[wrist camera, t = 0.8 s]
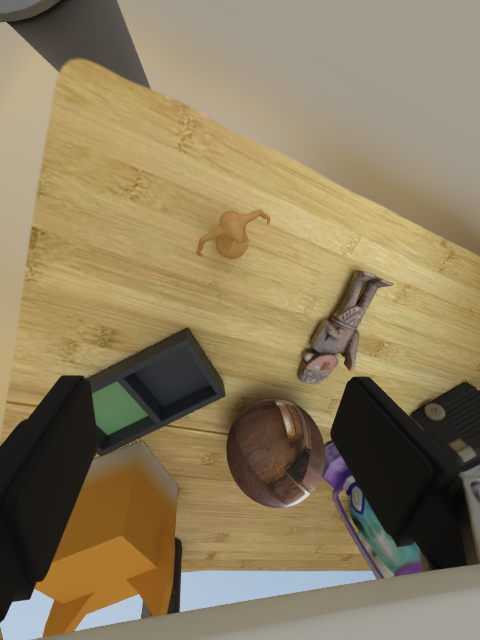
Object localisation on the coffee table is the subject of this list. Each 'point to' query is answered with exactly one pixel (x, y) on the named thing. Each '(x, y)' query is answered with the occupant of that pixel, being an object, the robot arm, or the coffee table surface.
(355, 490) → the lantern
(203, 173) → the coffee table surface
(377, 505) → the robot arm
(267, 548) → the coffee table surface
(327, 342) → the figurine
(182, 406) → the tray
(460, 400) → the camera
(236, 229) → the figurine
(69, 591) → the fox head
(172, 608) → the wine bottle
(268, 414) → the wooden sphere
